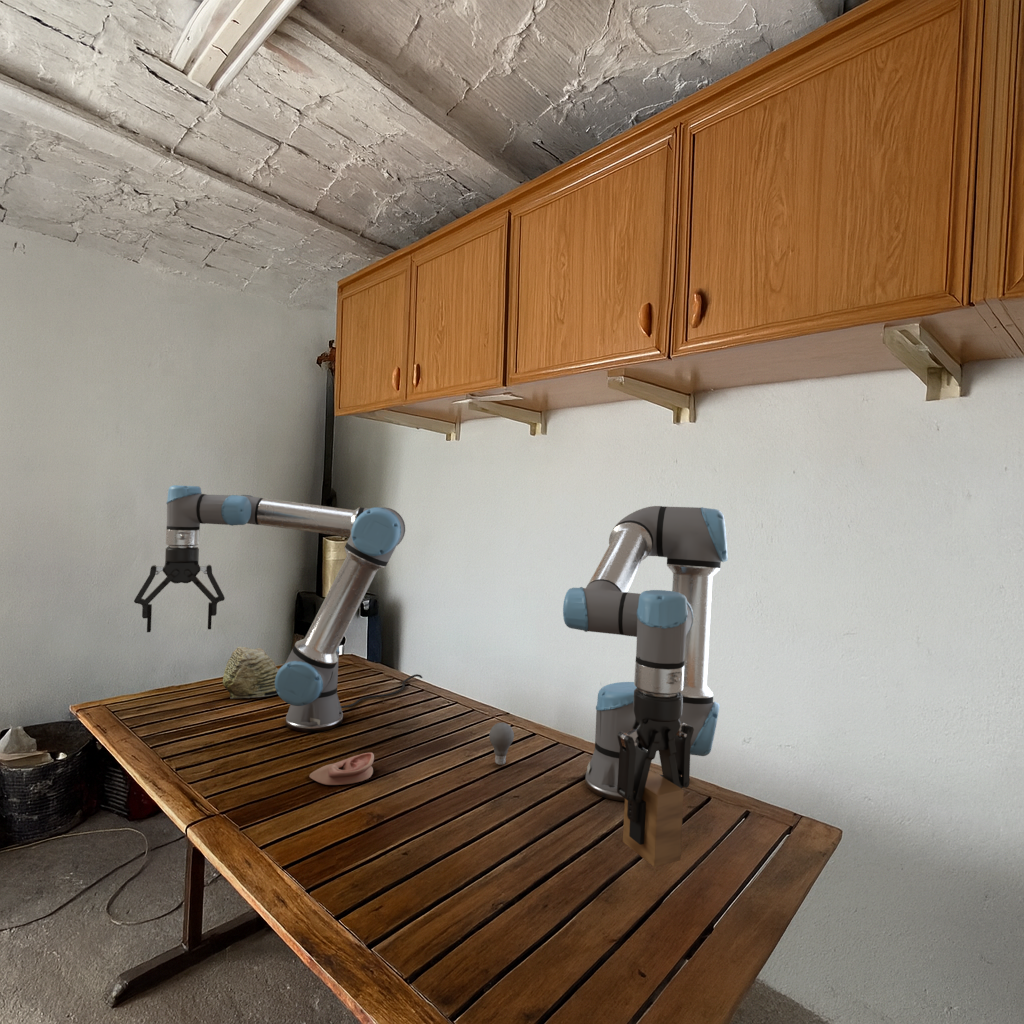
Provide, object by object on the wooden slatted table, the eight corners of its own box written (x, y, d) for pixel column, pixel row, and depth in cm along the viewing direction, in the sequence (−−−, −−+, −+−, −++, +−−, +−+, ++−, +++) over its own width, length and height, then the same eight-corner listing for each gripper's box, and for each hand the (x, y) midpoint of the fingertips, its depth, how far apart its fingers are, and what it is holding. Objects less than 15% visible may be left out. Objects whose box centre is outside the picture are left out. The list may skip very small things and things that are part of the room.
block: (622, 841, 102) (625, 774, 102) (647, 835, 105) (650, 769, 104) (654, 867, 95) (657, 795, 95) (680, 860, 98) (684, 789, 97)
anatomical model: (302, 763, 140) (328, 744, 151) (302, 781, 140) (327, 761, 151) (358, 771, 137) (380, 751, 148) (358, 789, 137) (379, 768, 148)
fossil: (218, 695, 195) (220, 647, 195) (278, 685, 208) (279, 640, 207) (228, 703, 189) (230, 653, 188) (289, 692, 201) (290, 645, 201)
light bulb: (487, 758, 157) (489, 718, 156) (511, 759, 157) (513, 719, 157) (488, 769, 151) (490, 727, 150) (513, 769, 151) (515, 727, 151)
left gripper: (123, 547, 151) (120, 635, 152) (237, 547, 163) (234, 630, 163) (126, 544, 158) (123, 629, 158) (235, 545, 169) (232, 624, 170)
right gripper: (626, 704, 92) (619, 861, 93) (719, 691, 100) (711, 835, 101) (596, 689, 99) (590, 836, 99) (685, 678, 107) (679, 814, 108)
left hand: (179, 629), depth 161 cm, fingers open, 13 cm apart
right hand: (651, 835), depth 100 cm, fingers closed on block, 5 cm apart
